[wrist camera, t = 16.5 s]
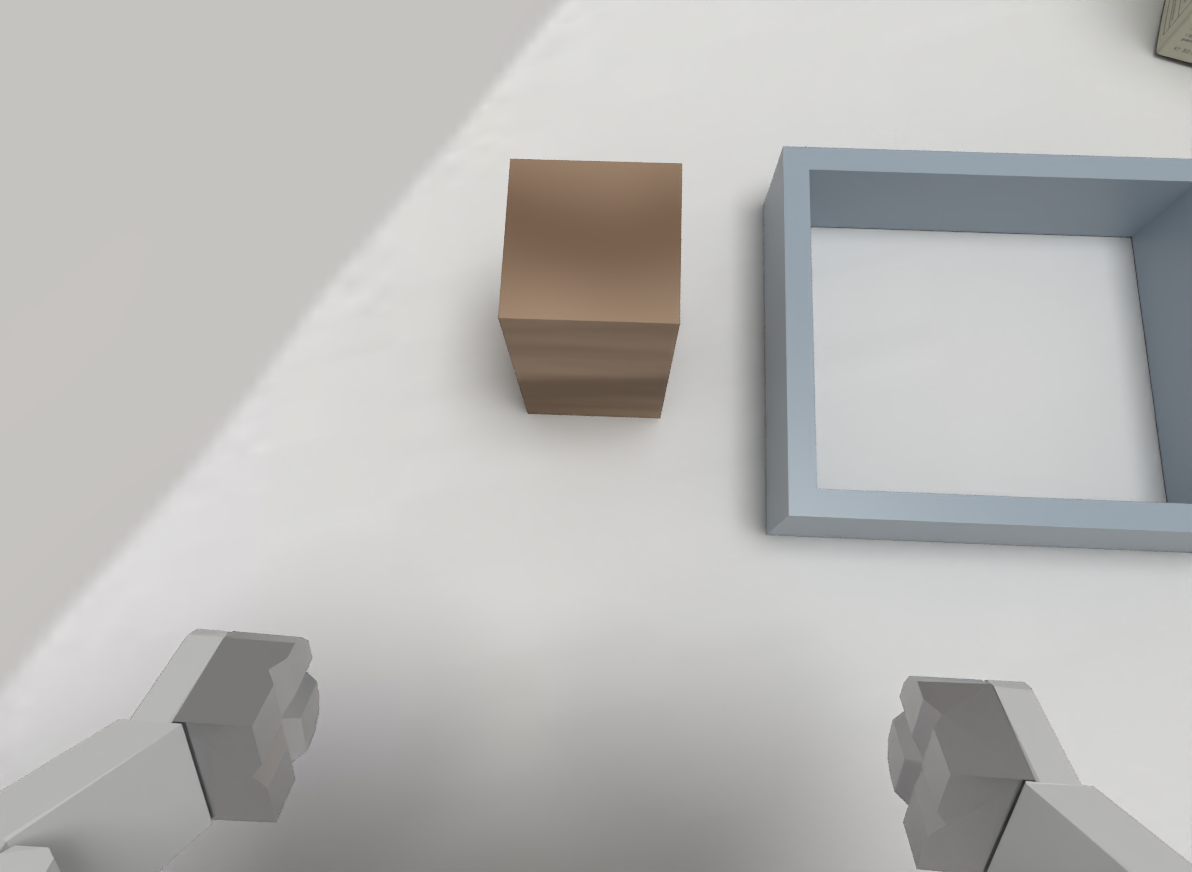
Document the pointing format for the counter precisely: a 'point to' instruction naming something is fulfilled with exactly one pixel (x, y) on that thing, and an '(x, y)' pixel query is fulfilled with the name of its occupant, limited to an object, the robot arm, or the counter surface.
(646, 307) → the walnut block
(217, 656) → the robot arm
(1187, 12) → the skincare box
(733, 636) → the counter surface
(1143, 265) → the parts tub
